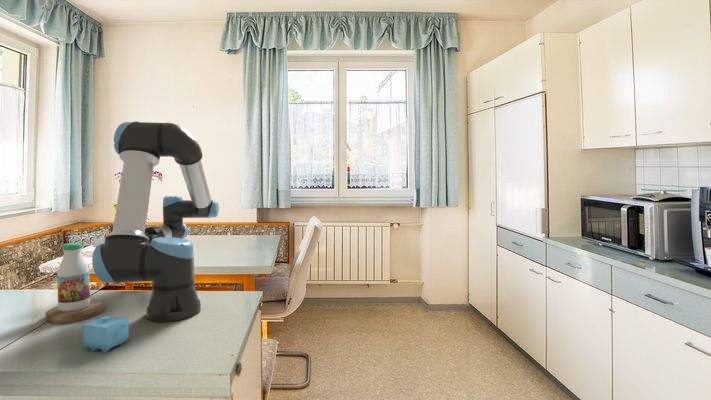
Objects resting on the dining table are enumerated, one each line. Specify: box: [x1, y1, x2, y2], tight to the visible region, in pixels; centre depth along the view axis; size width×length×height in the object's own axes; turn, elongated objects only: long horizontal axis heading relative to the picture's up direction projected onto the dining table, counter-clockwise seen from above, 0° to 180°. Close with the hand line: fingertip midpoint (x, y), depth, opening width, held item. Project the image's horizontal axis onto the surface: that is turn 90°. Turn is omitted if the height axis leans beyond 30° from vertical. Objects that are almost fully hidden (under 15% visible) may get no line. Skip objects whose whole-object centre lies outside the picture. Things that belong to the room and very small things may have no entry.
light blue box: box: [82, 315, 130, 353], centre depth 88 cm, size 12×6×8 cm, turn 76°
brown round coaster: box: [44, 299, 104, 325], centre depth 110 cm, size 14×14×2 cm
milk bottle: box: [56, 242, 91, 312], centre depth 109 cm, size 8×8×20 cm
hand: (110, 243), depth 122 cm, fingers open, 13 cm apart
